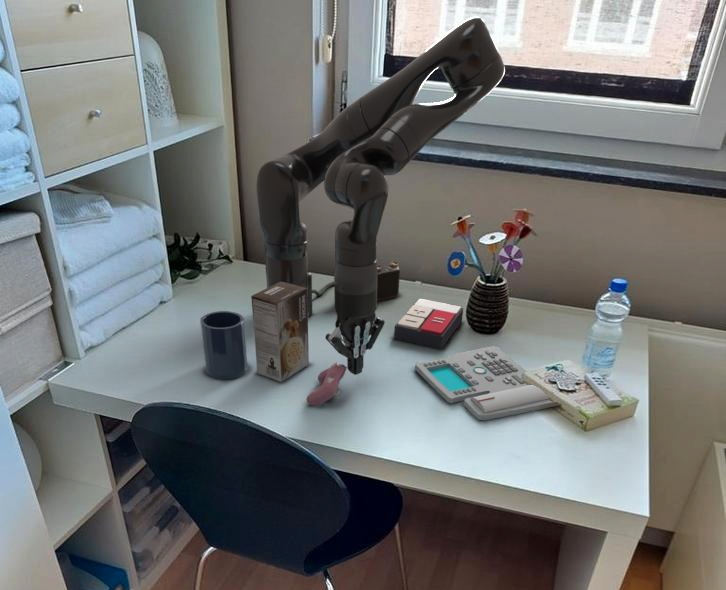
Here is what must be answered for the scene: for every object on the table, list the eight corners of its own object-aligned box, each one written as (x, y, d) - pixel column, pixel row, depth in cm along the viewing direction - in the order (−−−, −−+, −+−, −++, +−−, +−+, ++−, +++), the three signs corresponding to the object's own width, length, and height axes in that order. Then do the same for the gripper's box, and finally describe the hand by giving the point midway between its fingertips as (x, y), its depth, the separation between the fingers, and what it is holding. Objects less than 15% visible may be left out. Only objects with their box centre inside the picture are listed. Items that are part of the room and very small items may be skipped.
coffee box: (284, 356, 139) (281, 279, 129) (309, 364, 136) (308, 287, 126) (255, 373, 133) (250, 294, 123) (281, 383, 130) (278, 303, 120)
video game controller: (325, 416, 124) (342, 388, 120) (303, 403, 123) (320, 375, 119) (337, 389, 132) (354, 362, 127) (317, 377, 131) (333, 350, 127)
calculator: (394, 323, 145) (418, 295, 155) (393, 341, 147) (417, 312, 158) (443, 333, 141) (464, 304, 152) (441, 351, 144) (462, 322, 155)
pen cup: (233, 356, 138) (228, 307, 132) (255, 371, 133) (252, 321, 127) (198, 367, 134) (192, 317, 127) (220, 383, 129) (214, 332, 123)
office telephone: (565, 393, 126) (473, 414, 119) (562, 405, 127) (471, 426, 120) (496, 339, 142) (412, 355, 135) (494, 351, 144) (410, 366, 137)
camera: (387, 287, 170) (389, 255, 165) (402, 297, 165) (404, 264, 160) (329, 299, 163) (329, 266, 158) (343, 309, 158) (343, 275, 154)
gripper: (340, 301, 113) (341, 391, 124) (397, 281, 120) (394, 368, 131) (312, 288, 117) (316, 376, 128) (369, 269, 124) (367, 354, 135)
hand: (355, 372), depth 129 cm, fingers closed
